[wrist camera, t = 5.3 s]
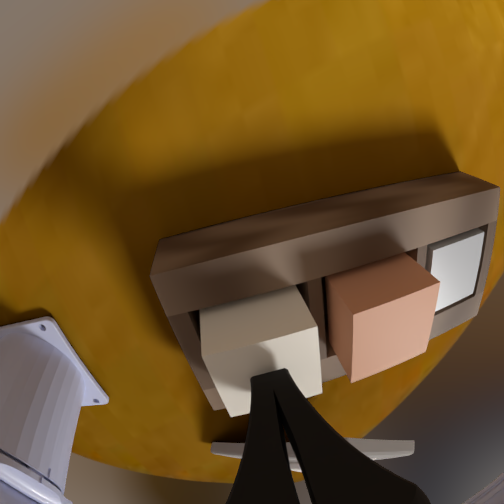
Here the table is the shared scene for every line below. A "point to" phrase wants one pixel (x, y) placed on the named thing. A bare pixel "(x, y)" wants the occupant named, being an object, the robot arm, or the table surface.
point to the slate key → (455, 265)
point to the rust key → (380, 314)
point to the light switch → (366, 446)
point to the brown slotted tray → (319, 255)
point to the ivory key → (260, 344)
